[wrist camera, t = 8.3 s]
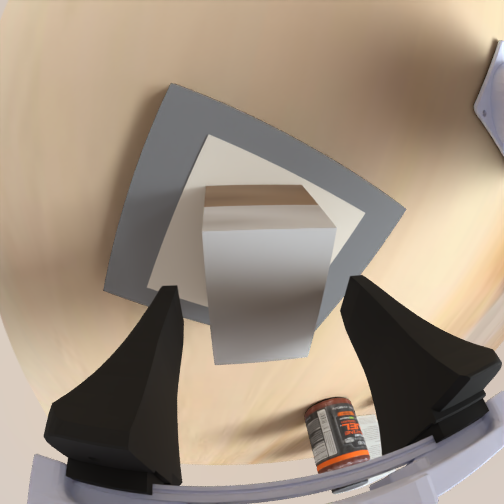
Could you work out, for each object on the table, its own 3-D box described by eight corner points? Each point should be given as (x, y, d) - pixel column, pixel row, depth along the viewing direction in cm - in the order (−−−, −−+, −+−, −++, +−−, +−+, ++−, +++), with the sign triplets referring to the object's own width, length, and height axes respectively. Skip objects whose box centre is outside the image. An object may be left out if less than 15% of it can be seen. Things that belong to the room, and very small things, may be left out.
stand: (393, 199, 16) (407, 209, 15) (296, 332, 21) (301, 348, 20) (175, 84, 11) (170, 83, 10) (109, 275, 17) (102, 291, 15)
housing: (288, 298, 17) (307, 356, 13) (212, 302, 16) (214, 364, 13) (301, 184, 13) (337, 227, 9) (205, 185, 13) (202, 231, 9)
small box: (344, 435, 38) (361, 488, 29) (317, 438, 36) (332, 495, 28) (375, 412, 34) (397, 470, 26) (348, 415, 33) (369, 479, 24)
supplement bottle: (359, 396, 30) (388, 474, 20) (328, 418, 32) (349, 491, 23) (324, 393, 28) (353, 484, 18) (293, 417, 30) (312, 499, 20)
